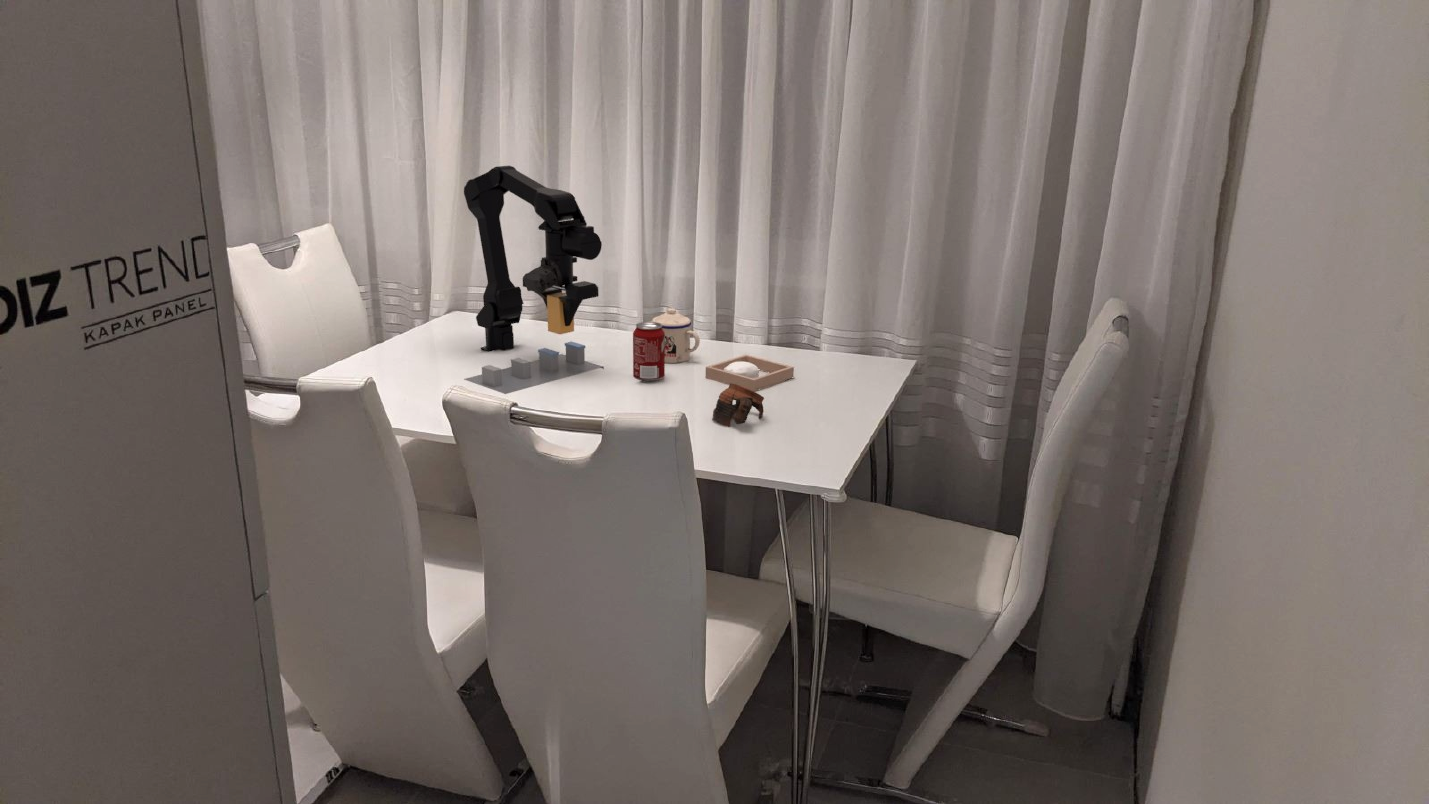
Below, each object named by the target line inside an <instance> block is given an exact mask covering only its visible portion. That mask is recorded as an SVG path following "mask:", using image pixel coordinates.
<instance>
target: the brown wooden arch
mask: <svg viewBox="0 0 1429 804" xmlns="http://www.w3.org/2000/svg"><path fill="white" fill-rule="evenodd" d="M728 385H729V384H728ZM764 400H765V397H764V396H763V395H761V394H760V393H758V392H757V391H752V390H750V389H748V388H745V387H743V386H740V385H737V384H734V383H730V385H729V386H728V387H727V388H725V389H724V390H722V391H721V392H720V394H719V395H718V399H717V401H716V404H715V408H714V409H713V411H712V412H713V413H712V418H711V420H712V421H716V422H717V423H718V424H720V425H723V426H725V427H727V426H728V428H730V427H731V422H732V420H733V422H734V423H735V424H737V425H742V424H745V423H746V421H747V419H748V416H749V414H750V412H751V411H752V407H753V408H754V409H756V410H757V411H758V419H759V420H761V419H763V416H764V412H765V411H764V405H763V401H764ZM734 401H735V403H734V404H733V402H734Z"/></svg>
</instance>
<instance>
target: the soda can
mask: <svg viewBox="0 0 1429 804" xmlns="http://www.w3.org/2000/svg"><path fill="white" fill-rule="evenodd" d="M661 327H662V325H661V324H660V323H657V322H652V321H641V322H638V323H636V325H635V329H634V330H633V332H632V376H633V378H634V379H636V380H639V381H641V382H643V383H654V382H659V381H661V379H663V378H664V377H665V376H666V375H665V371H666V370H665V367H666V366H665V364H666V363H665V333H664V331H663V329H662V328H661Z"/></svg>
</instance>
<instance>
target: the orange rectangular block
mask: <svg viewBox="0 0 1429 804" xmlns="http://www.w3.org/2000/svg"><path fill="white" fill-rule="evenodd" d="M561 296H565V292H563V291H562V292H560V293H555V294H550V295H547V307H546V309H547V332H550V333H554V334H556V335H565V334H568V333H572V332H575V317H574V318H573V320H572V322H571V324H570V326H565V322H564V312H563V303H562V302H561V301H560V300H559V298H558V297H561Z"/></svg>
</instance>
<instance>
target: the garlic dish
mask: <svg viewBox="0 0 1429 804" xmlns="http://www.w3.org/2000/svg"><path fill="white" fill-rule="evenodd" d="M740 361H742V362H749V363H752V364H754V365H755V366H757V368H758V369H760V370H759V371H761V370H763V371H762V372H764V371H766V373H767V374H763V375H761V376H760V375H759V377H757V378H754V379H753V378H749V377H746V376H742V375H739V374H735V373H731V372H728V371H724V368H725V367H727V366H728V365H729V364H731V363H734V362H740ZM794 368H795V366H792V365H789V364H784V363H780V362H776V361H772V360H769V359H764V358H761V357H757V356H753V355H750V354H742V355H740V356H736V357H734V358H730V359H727V360H724V361H723V360H722V361H720V362H717V363H714V364H711V365H708V366H705V379H708V380H712V381H715V382H718V383H723V384H726V385H730V383H734V384H737V385H740V386H743V387H745V388H748V389H750V390H752V391H754V392H757V391H760V390H763V389H765V387H766V388H768V386H769V387H771V386H770V385H772V386H773V385H774V386H775V385H778V384H781V383H783V382H786V381H788V380H787V379H789V380H791V379H790V378H792V377H793V378H794V373H795V371H794ZM768 372H769V373H768ZM793 378H792V379H793ZM785 380H786V381H785ZM762 388H763V389H762ZM759 389H760V390H759Z"/></svg>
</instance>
